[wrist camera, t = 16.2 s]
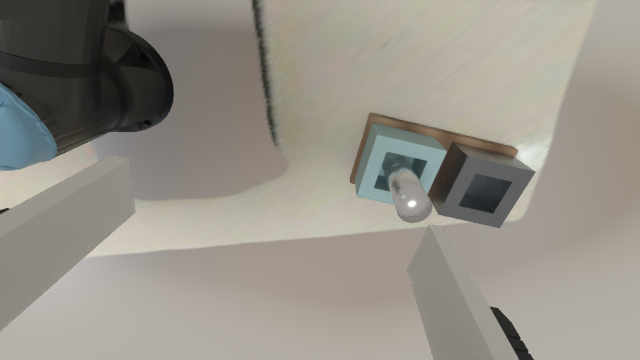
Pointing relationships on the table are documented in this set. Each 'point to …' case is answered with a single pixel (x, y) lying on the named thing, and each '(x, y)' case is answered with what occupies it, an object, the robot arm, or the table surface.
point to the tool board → (439, 135)
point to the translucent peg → (406, 189)
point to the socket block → (478, 184)
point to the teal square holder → (381, 139)
